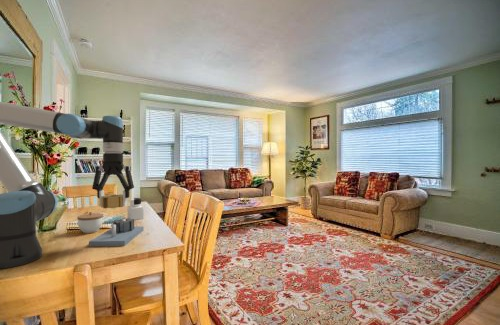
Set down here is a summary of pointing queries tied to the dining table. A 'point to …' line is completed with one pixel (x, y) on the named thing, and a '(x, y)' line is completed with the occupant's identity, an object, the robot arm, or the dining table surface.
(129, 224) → the dark gear
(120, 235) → the gear board
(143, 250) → the dining table surface
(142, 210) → the medicine bottle
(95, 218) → the lidded jar
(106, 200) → the bronze gear
